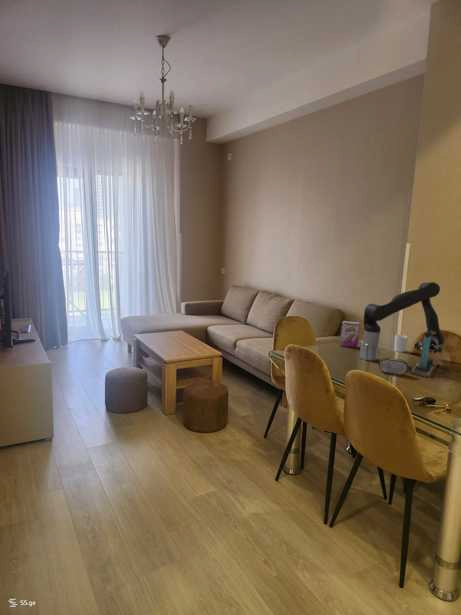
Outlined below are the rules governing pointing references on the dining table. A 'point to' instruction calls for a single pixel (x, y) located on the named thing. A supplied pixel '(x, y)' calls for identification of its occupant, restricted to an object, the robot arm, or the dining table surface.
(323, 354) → the dining table surface
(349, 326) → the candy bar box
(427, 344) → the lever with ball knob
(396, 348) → the white cup
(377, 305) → the robot arm
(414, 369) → the press base
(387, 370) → the tin
